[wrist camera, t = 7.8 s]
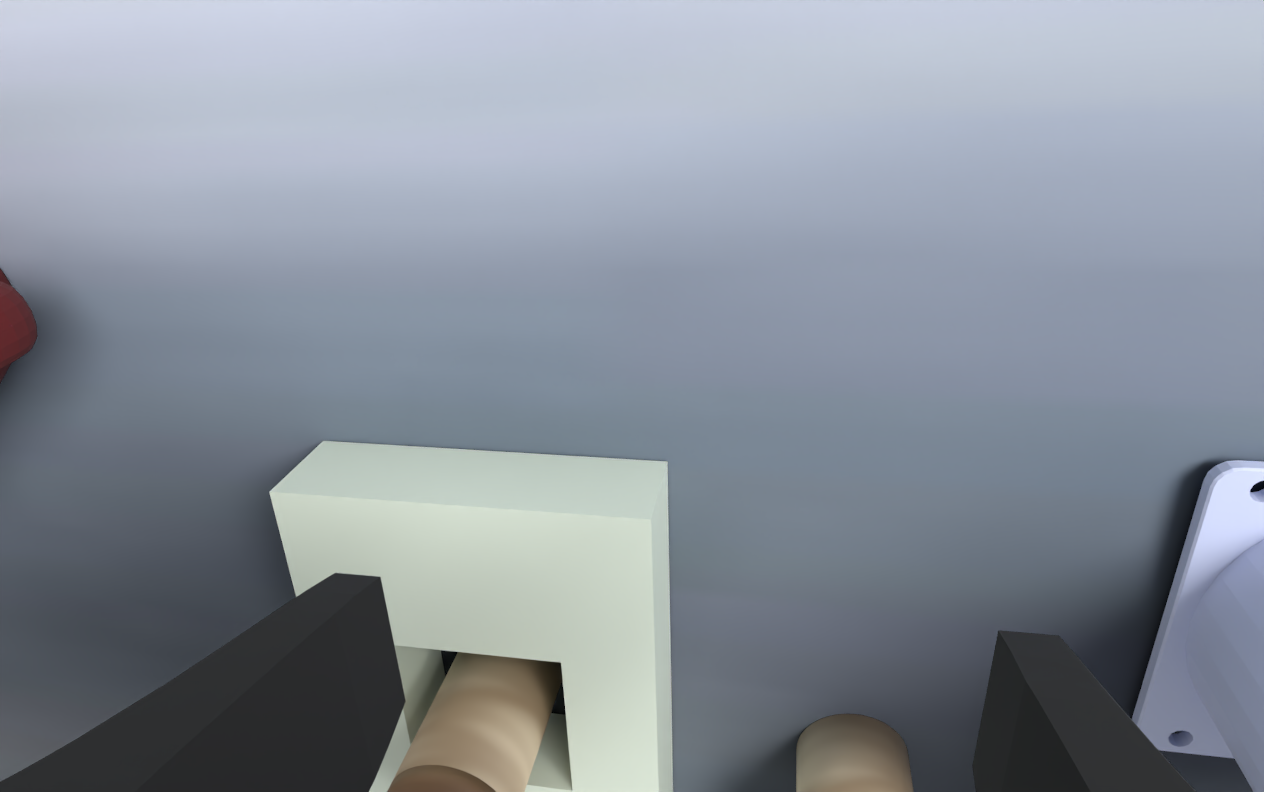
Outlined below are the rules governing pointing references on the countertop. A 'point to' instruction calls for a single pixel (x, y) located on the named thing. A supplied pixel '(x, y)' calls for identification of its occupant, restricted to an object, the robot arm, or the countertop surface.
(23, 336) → the mug
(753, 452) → the countertop surface
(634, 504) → the board
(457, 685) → the dowel medium
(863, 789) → the dowel short
